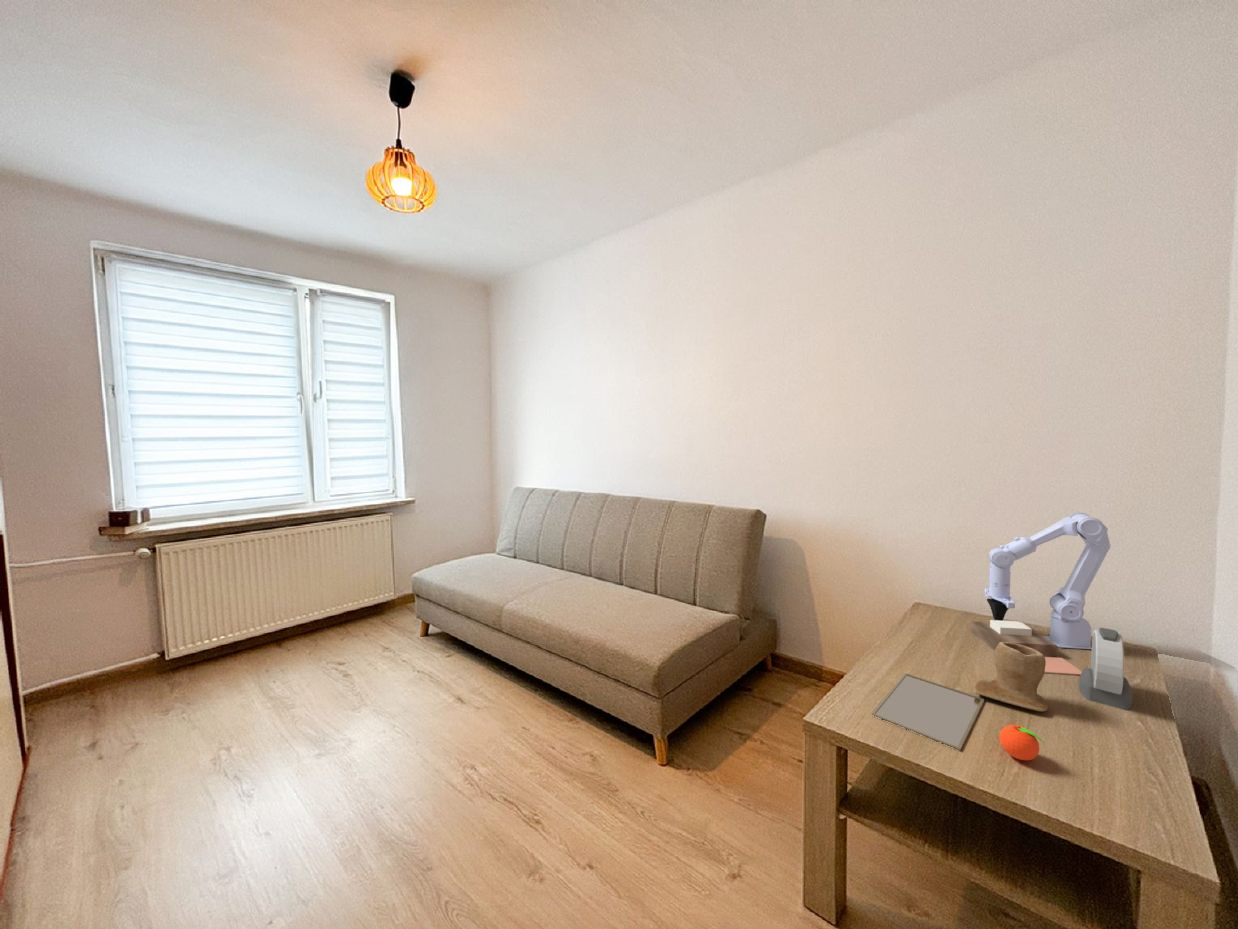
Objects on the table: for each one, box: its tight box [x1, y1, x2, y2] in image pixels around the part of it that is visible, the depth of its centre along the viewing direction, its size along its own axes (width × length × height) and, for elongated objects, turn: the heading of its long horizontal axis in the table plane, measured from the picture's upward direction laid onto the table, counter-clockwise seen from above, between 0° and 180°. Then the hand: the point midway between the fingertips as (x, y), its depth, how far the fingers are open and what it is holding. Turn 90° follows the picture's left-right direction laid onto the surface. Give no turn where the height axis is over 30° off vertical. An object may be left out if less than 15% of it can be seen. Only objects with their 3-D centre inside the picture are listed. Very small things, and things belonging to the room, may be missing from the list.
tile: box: [989, 619, 1032, 636], centre depth 159 cm, size 9×6×2 cm, turn 78°
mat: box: [1044, 657, 1083, 676], centre depth 144 cm, size 18×10×1 cm, turn 78°
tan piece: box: [973, 642, 1049, 712], centre depth 127 cm, size 15×12×15 cm
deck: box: [971, 621, 1057, 658], centre depth 158 cm, size 16×16×4 cm
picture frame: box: [870, 672, 985, 752], centre depth 125 cm, size 19×1×28 cm
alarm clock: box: [1078, 627, 1134, 711], centre depth 128 cm, size 16×10×18 cm, turn 137°
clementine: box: [998, 724, 1047, 761], centre depth 106 cm, size 8×7×7 cm
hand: (998, 620), depth 166 cm, fingers closed
